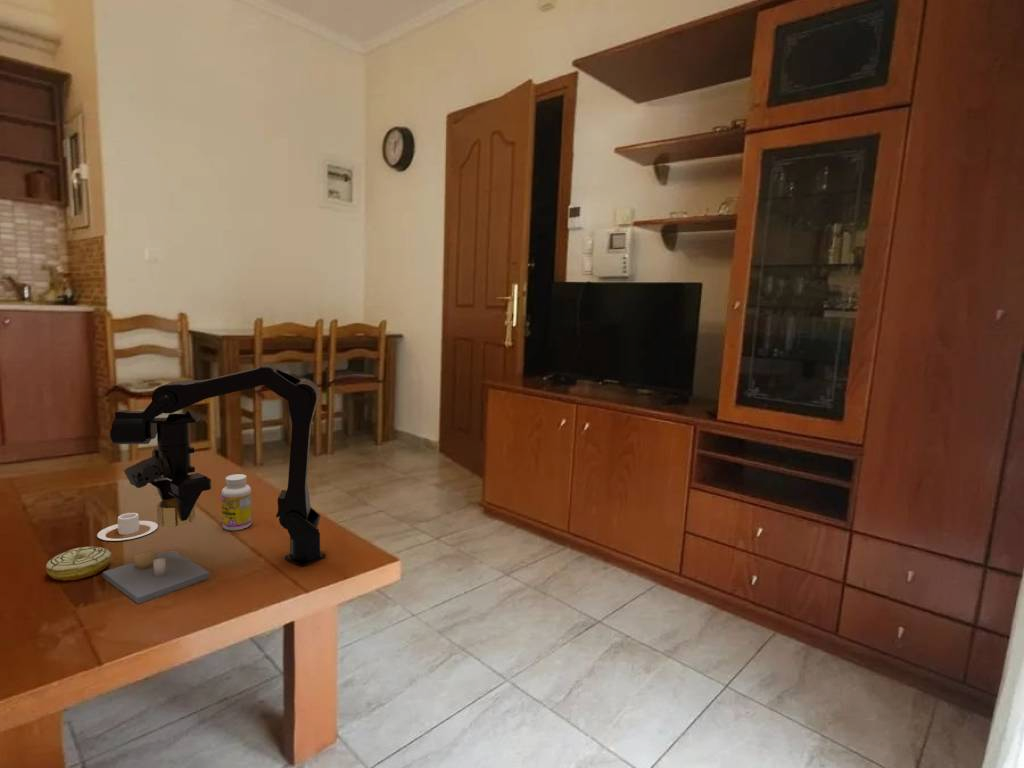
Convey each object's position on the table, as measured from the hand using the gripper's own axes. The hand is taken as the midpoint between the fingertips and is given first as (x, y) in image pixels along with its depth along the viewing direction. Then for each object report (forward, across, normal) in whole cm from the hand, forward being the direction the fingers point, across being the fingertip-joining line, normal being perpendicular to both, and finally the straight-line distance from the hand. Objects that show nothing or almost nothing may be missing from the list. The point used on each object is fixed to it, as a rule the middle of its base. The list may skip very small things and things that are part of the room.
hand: (176, 516), depth 115 cm
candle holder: (+12, -27, 0) cm, 30 cm away
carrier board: (+11, +2, -5) cm, 12 cm away
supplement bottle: (+11, -12, +19) cm, 25 cm away
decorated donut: (+12, -13, -13) cm, 22 cm away
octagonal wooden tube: (+1, 0, 0) cm, 1 cm away
